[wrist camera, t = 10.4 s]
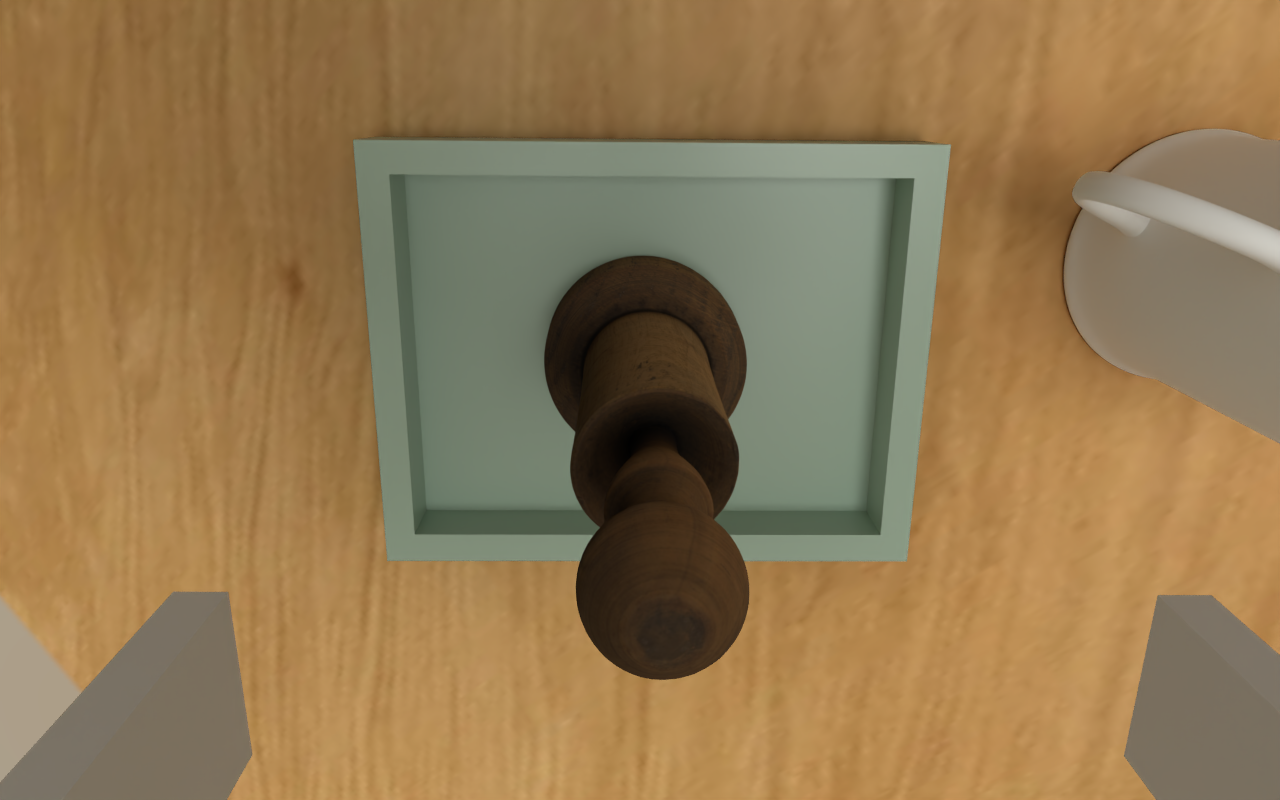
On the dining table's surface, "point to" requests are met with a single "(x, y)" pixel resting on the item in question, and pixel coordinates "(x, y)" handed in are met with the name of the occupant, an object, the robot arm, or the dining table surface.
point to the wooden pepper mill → (652, 460)
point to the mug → (1186, 269)
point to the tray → (673, 229)
